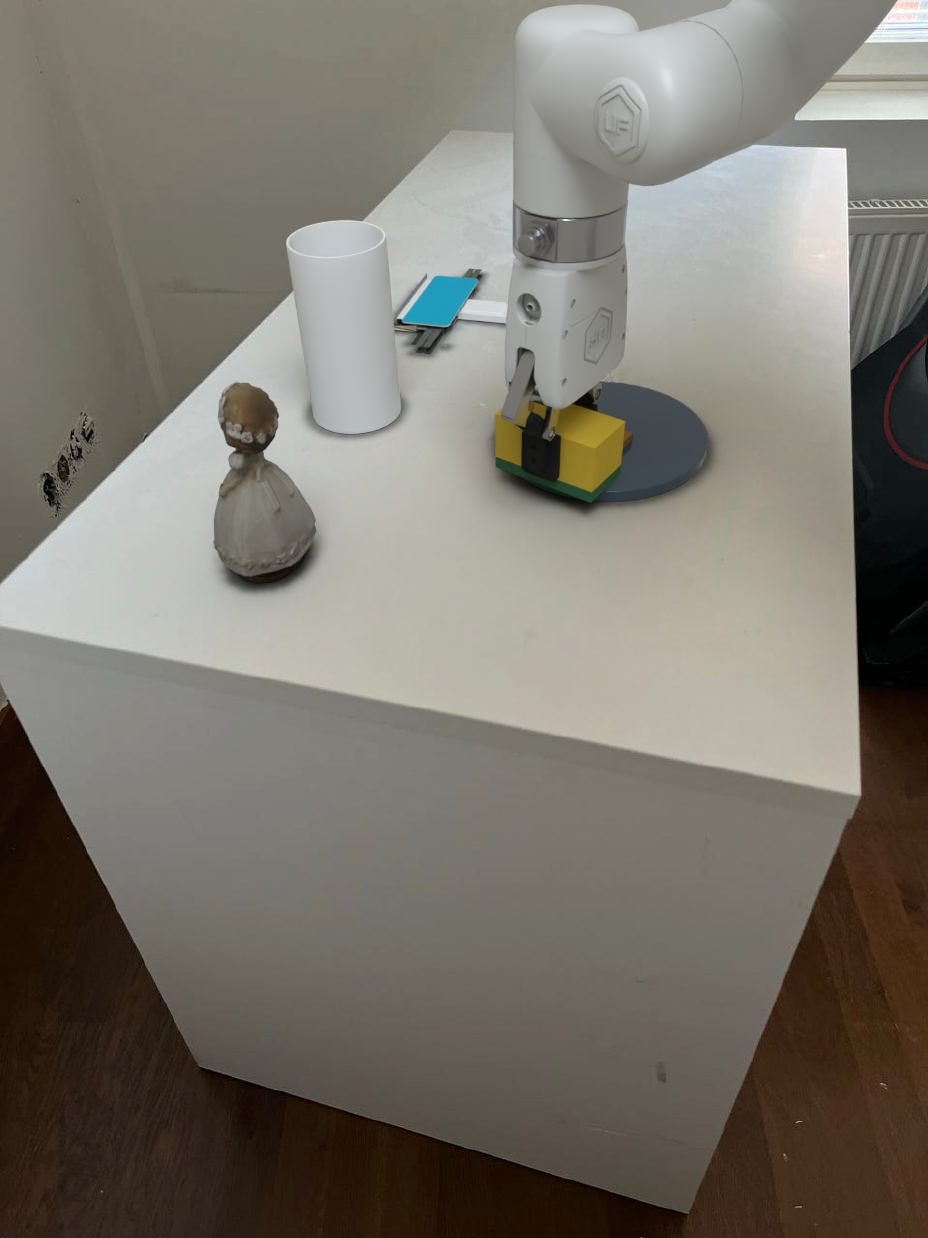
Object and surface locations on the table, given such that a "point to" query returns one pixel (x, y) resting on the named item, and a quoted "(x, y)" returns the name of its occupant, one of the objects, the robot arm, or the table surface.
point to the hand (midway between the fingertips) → (558, 457)
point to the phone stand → (444, 308)
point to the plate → (650, 442)
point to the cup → (346, 324)
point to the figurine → (257, 494)
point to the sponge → (570, 450)
